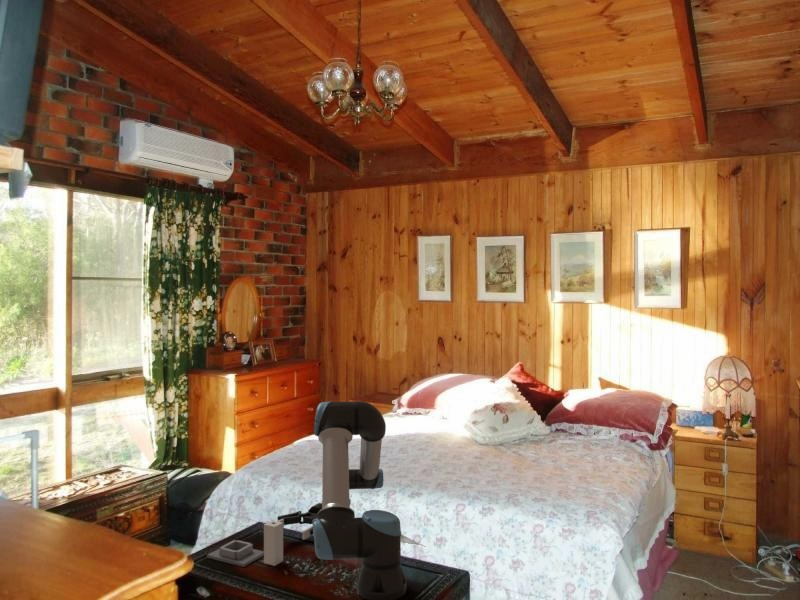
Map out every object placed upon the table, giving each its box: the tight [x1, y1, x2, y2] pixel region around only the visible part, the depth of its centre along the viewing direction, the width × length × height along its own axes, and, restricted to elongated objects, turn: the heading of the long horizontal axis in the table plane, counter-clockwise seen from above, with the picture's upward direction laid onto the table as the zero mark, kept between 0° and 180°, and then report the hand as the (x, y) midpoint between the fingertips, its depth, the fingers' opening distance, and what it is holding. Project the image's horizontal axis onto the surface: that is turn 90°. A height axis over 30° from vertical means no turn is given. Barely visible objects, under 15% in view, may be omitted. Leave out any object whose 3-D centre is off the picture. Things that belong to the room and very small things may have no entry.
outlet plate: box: [206, 539, 264, 568], centre depth 218 cm, size 16×11×4 cm
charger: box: [263, 519, 284, 567], centre depth 214 cm, size 4×4×13 cm
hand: (287, 532), depth 221 cm, fingers open, 13 cm apart
